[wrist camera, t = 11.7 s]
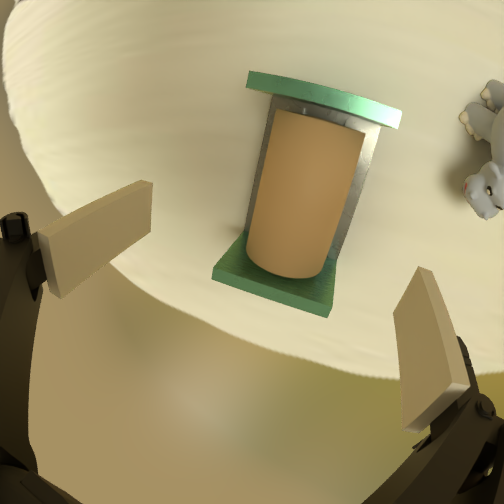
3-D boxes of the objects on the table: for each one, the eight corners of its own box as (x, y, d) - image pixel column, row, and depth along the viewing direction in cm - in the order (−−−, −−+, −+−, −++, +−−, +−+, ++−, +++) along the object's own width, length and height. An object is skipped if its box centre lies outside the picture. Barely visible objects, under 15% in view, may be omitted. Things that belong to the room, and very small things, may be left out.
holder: (277, 84, 24) (249, 70, 16) (382, 113, 23) (402, 111, 15) (244, 237, 32) (211, 279, 24) (333, 265, 31) (327, 318, 23)
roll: (283, 108, 24) (269, 106, 18) (360, 129, 23) (373, 135, 17) (255, 229, 30) (236, 263, 23) (323, 249, 29) (321, 288, 23)
